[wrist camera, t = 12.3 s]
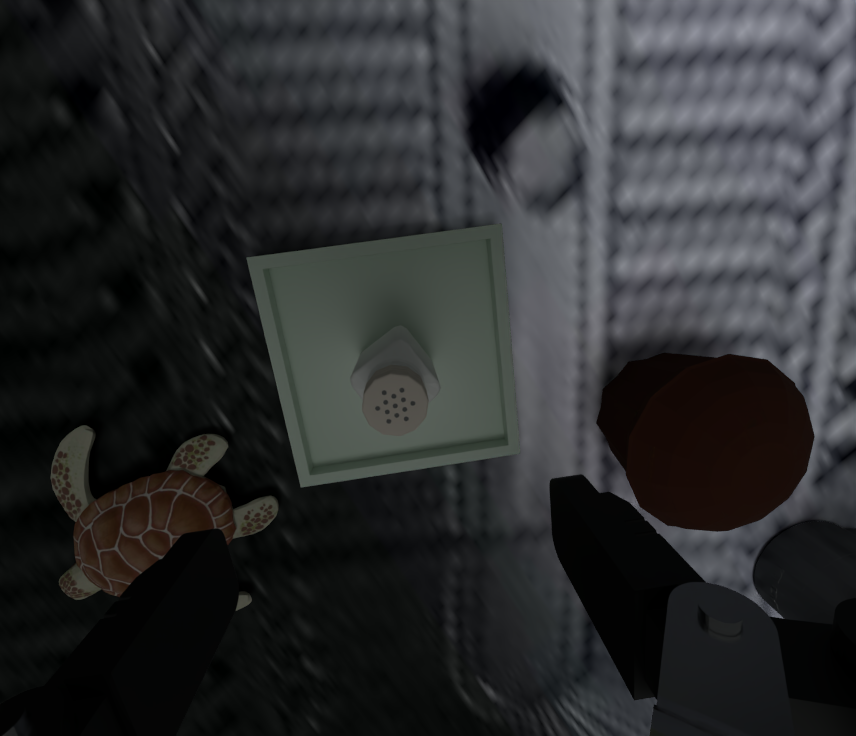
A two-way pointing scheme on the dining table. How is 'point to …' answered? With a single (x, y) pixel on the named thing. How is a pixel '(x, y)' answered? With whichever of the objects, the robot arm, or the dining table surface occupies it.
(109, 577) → the decorative turtle
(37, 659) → the dining table surface
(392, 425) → the pepper shaker
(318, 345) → the tray
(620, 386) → the muffin
